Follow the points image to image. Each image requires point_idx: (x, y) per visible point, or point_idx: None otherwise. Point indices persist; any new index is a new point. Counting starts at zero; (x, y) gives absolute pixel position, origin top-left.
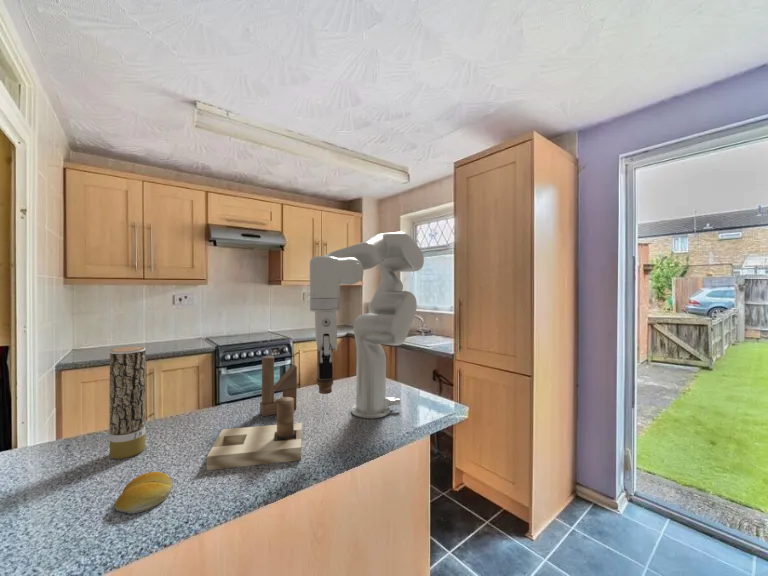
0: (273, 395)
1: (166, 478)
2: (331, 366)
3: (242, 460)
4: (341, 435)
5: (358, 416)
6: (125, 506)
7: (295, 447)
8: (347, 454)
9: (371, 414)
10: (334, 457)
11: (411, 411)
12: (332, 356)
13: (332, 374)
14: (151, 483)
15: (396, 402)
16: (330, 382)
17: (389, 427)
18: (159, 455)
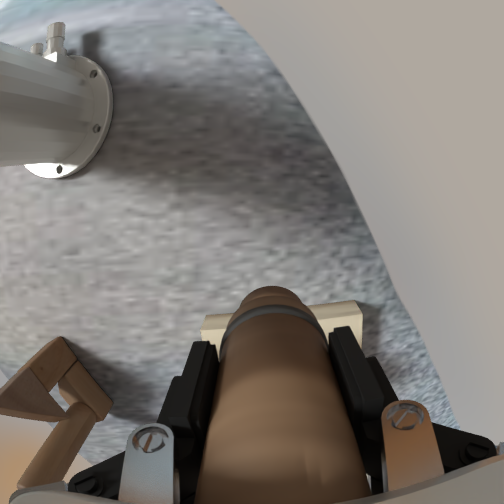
0: (73, 412)
1: None
2: (373, 379)
3: None
4: (223, 199)
5: (97, 150)
6: None
7: (360, 327)
8: (344, 183)
9: (103, 106)
10: (355, 218)
11: (84, 4)
12: (318, 439)
13: (297, 331)
14: None
15: (62, 32)
16: (313, 318)
17: (180, 52)
18: None
